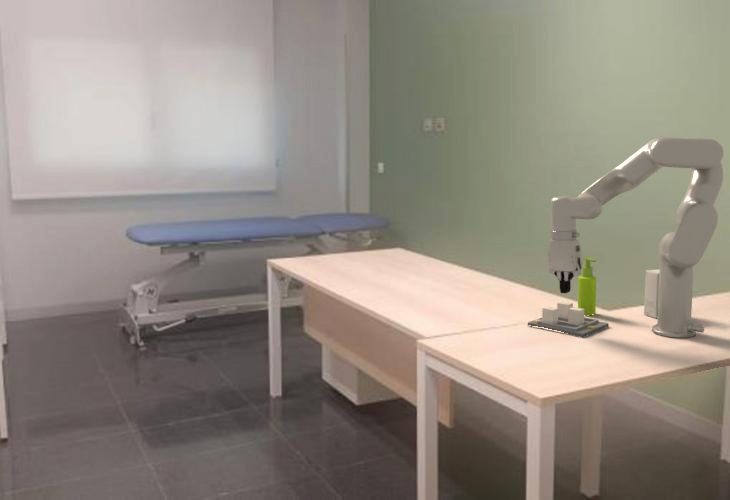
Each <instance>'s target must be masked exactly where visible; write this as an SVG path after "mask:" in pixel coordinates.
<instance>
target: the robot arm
mask: <svg viewBox="0 0 730 500" xmlns="http://www.w3.org/2000/svg"><path fill="white" fill-rule="evenodd" d="M723 157H724V148H723V146H722V144H720V143H719V141H716V140H715V139H713V138H712V139H711V138H679V137H663V136H662V137H661V136H660V137H656V138H653V139H651V140H650V141H647V143H645V144H644V145H643V146H641V147H640V148H639V149H637V150H636V152H634V153H633V154H631V155H630V156H628V157H627V158H626V159H625V160H623V161H622V162H621V163H620V164H619V165H617V166H616V167H614V168H613V169H611V170H610V171H609V172H608V173H606V174H604V175H603V176H602V177H601V178H599V179H597V180H596V181H595V182H593V183H592V184H591V185H590V186H589V187H587V188H586V189H585V190H584V191H582V192H581V193H580V194H579V195H577V197H573V196H571V195H559V196H554V197H552V198H551V199H550V229H551V231H550V232H551V239H549V243H548V249H547V251H548V252H547V266H548V272H549V273H550V274H552V275H554V276H555V277H556V278H557V280H558V281H559V290H560V294H568V293H570V292H571V288H572V286H571V284H572V283H571V280H573V278H574V277H579V276H582V271H581V270H582V267H584V265H583V252H582V247H581V243H580V240H579V239H577V238H579V237H580V235H581V234H580V232H578V231H577V220H578V219H579V220H587V221H588V220H590V221H591V220H595V219H597V218H599V216H601V214H602V212H603V206H604V205H606V204H607V203H609V202H610V201H611V200H612V199H614V198H617V196H620V195H621V194H624V193H627V192H629V191H632V190H634V189H636V188H637V187H638V186H640V185H641V184H642V183H644V182H645V181H646V180H647V179H649V178H650V177H652V176H653V175H655V173H657V172H658V171H659V170H660V169H662V168H679V169H680V168H681V169H690V170H691V177H690V181H689V184H688V187H687V189H686V191H685V193H684V195H683V198H682V199H681V202H680V204H679V206H678V208H677V211H676V213H675V219H676V221H677V223H678V227H677V229H676V231H670V232H668V233H666V234H665V235H664V236H663V237H662V238H661V239H660V242H659V245H658V261H659V262H658V263H659V264H658V265H659V270H660V271H659V297H658V318H657V324H654V325H652V326H651V331H652V332H653V333H654V334H655V335H660V336H663V337H669V338H678V339H679V338H690V337H691V338H692V337H694V336H695V335H696V334H697V333H701V334H702V333H703V334H704V332H705V329H706V328H705V326H704V325H703V324H697V323H696V322H695V318H692V309H693V307H692V306H693V289H694V288H693V287H694V267H695V266H696V265H697V264H699V262H700V261H701V259H702V258H703V256H704V255H705V252H706V250H707V248H708V246H709V243H710V242H711V239H712V237H713V235H714V233H715V230H716V228H717V225H718V224H719V214H718V211H717V209H716V208H715V206H714V205H715V204H716V201H717V199H718V196H719V193H720V191H721V188H722V185H723V181H724V168H723V165H722V160H723Z"/></svg>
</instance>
